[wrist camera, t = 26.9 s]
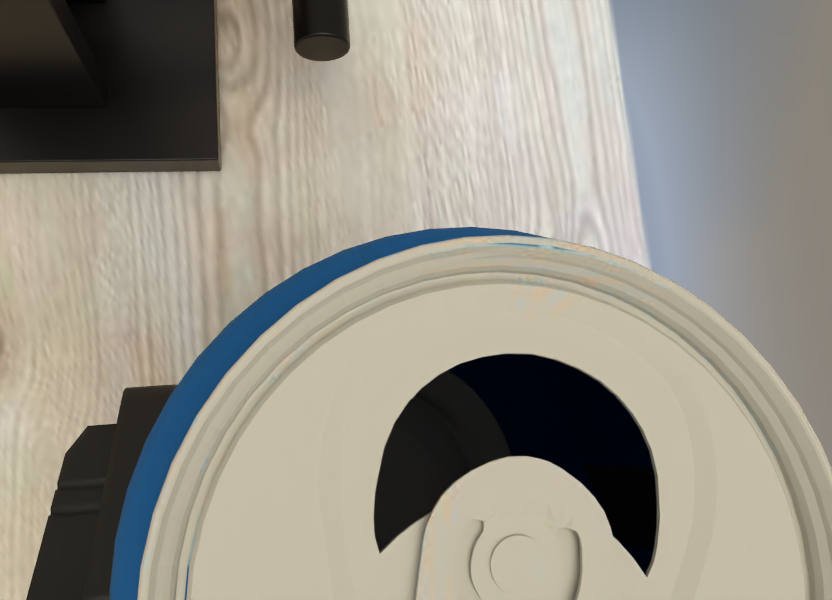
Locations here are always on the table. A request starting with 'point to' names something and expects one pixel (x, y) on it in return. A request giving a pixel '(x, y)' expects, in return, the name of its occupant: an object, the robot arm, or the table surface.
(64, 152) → the bracket
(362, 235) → the table surface
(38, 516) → the table surface
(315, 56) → the lever
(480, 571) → the beverage can
